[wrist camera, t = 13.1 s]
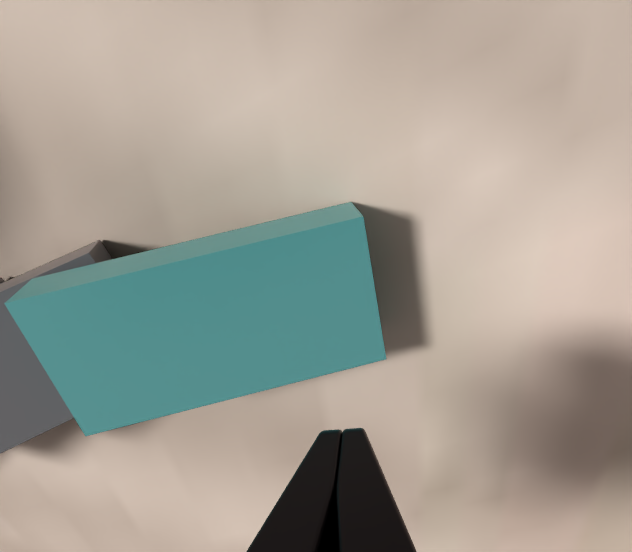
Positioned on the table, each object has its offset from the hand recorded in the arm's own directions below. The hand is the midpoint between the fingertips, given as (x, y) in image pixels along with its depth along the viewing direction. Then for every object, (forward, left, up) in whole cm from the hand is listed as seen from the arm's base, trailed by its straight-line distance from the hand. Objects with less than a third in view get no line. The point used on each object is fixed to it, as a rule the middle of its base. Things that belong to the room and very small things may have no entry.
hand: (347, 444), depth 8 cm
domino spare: (0, 0, -6) cm, 6 cm away
